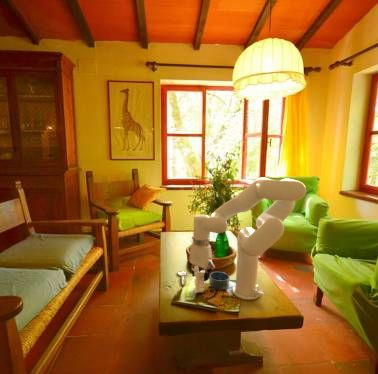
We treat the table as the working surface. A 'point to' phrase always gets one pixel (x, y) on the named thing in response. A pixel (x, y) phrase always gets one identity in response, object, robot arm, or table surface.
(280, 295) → the table surface
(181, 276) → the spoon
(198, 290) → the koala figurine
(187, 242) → the table surface
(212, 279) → the bowl
